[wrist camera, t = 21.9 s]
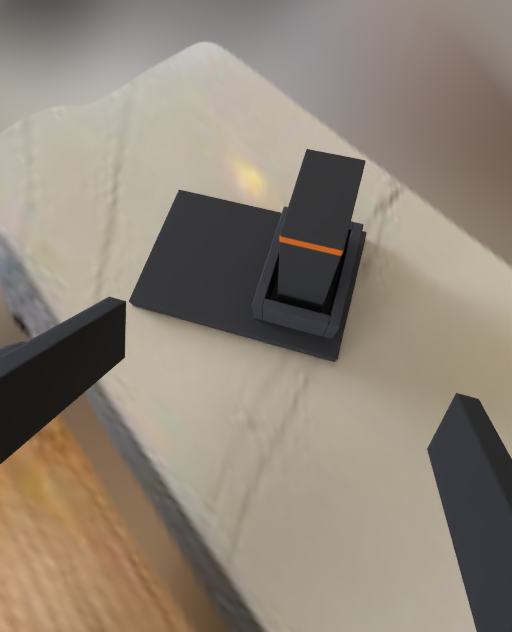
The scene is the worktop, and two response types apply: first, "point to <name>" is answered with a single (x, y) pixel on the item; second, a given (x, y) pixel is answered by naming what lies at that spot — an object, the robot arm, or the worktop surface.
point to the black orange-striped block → (316, 227)
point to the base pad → (240, 276)
